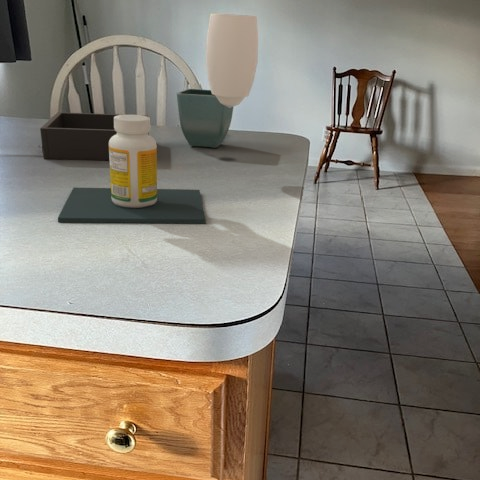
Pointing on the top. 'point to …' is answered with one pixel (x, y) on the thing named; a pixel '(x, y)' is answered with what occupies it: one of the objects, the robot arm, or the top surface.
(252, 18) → the beige tapered shape
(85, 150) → the black box
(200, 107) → the flower pot
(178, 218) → the mat
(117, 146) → the supplement bottle
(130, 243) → the top surface
